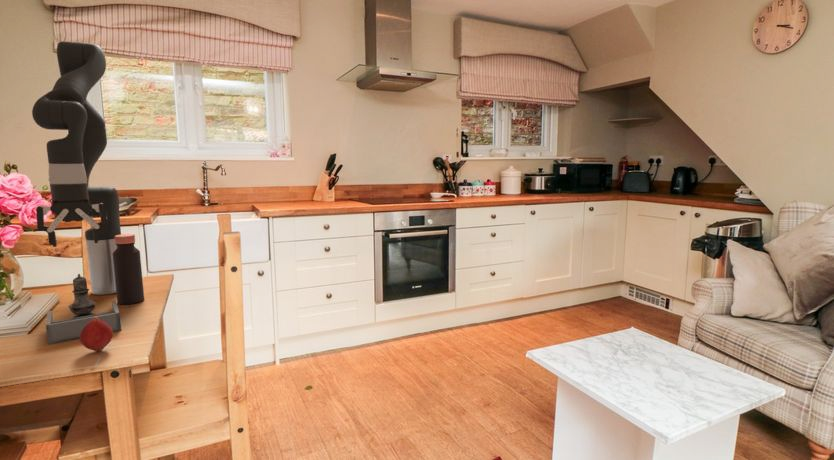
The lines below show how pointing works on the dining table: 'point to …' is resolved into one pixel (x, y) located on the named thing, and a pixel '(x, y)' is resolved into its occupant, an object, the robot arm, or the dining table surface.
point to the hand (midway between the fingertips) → (75, 244)
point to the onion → (96, 335)
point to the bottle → (127, 270)
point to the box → (78, 325)
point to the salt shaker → (81, 298)
